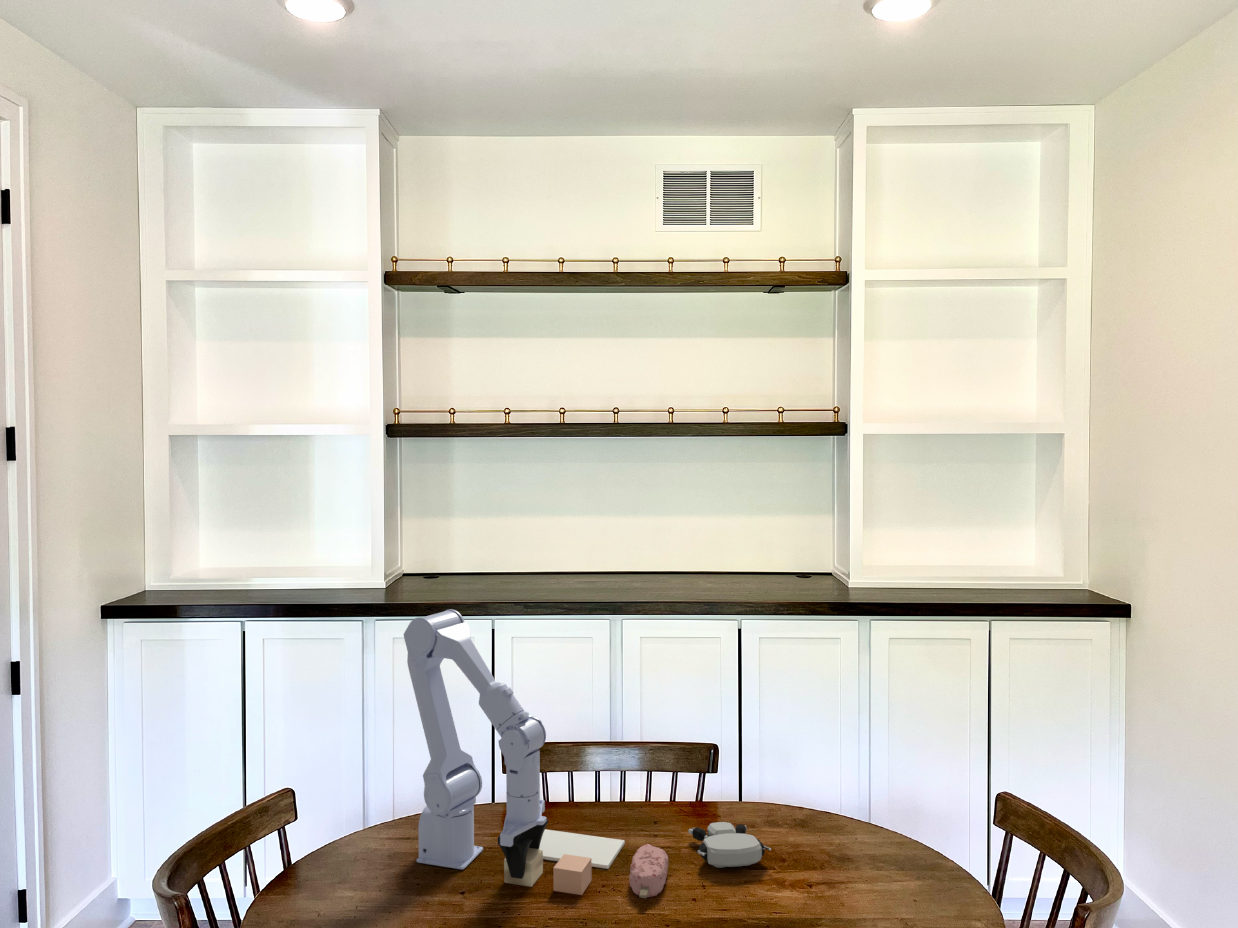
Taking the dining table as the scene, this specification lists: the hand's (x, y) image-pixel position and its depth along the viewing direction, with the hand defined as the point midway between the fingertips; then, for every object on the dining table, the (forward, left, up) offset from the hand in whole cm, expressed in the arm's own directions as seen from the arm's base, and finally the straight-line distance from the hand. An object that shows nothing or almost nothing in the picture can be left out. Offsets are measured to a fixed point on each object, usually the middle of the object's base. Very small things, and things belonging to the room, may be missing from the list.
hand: (523, 869), depth 147 cm
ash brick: (0, 0, -1) cm, 1 cm away
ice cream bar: (+21, +4, -2) cm, 22 cm away
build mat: (+5, +12, -1) cm, 13 cm away
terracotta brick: (+9, 0, -2) cm, 9 cm away
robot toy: (+32, +18, -2) cm, 37 cm away
